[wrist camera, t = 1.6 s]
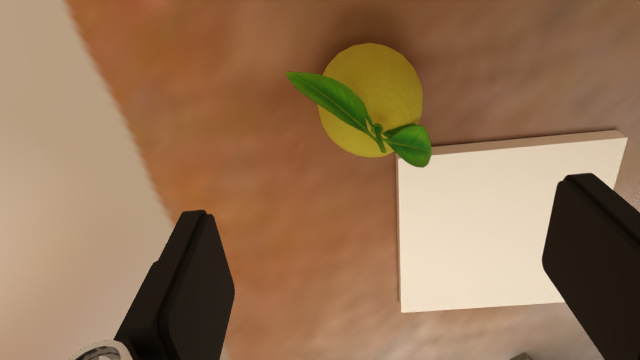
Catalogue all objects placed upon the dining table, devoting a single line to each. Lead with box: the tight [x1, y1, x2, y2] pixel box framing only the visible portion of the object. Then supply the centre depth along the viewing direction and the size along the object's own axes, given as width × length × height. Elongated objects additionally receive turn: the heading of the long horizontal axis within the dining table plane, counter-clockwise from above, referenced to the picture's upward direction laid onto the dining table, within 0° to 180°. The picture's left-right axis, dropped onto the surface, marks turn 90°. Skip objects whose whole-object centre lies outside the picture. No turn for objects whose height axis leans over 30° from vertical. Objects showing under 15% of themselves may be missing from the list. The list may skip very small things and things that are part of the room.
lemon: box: [286, 43, 432, 168], centre depth 21 cm, size 7×6×10 cm
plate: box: [395, 130, 628, 313], centre depth 30 cm, size 14×14×1 cm
